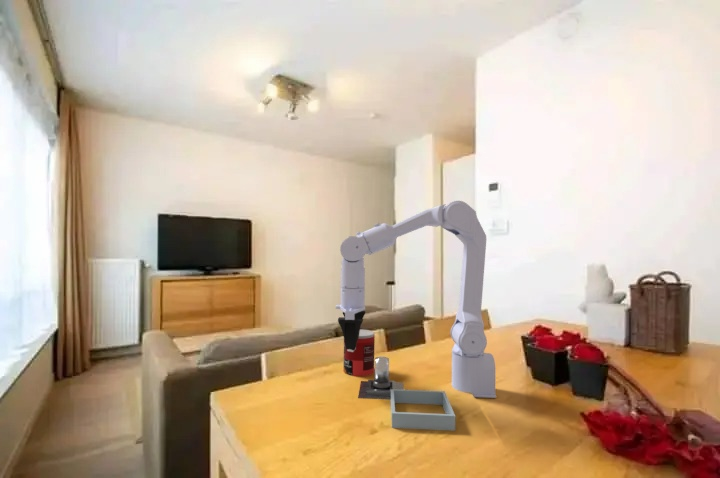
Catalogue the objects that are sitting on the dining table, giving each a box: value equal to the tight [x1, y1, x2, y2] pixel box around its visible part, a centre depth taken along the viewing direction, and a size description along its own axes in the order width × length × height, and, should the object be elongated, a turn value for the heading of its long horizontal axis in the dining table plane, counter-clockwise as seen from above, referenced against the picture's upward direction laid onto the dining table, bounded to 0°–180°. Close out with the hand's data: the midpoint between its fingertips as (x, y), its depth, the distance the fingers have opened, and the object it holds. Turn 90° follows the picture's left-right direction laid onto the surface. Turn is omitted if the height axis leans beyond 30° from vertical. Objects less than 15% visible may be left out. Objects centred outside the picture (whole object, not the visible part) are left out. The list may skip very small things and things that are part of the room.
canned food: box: [342, 328, 376, 377], centre depth 95 cm, size 8×8×11 cm
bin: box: [390, 389, 456, 432], centre depth 70 cm, size 11×11×4 cm
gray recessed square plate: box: [357, 379, 405, 401], centre depth 82 cm, size 10×10×2 cm
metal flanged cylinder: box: [372, 356, 391, 390], centre depth 82 cm, size 4×4×7 cm
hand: (352, 344), depth 87 cm, fingers open, 7 cm apart
